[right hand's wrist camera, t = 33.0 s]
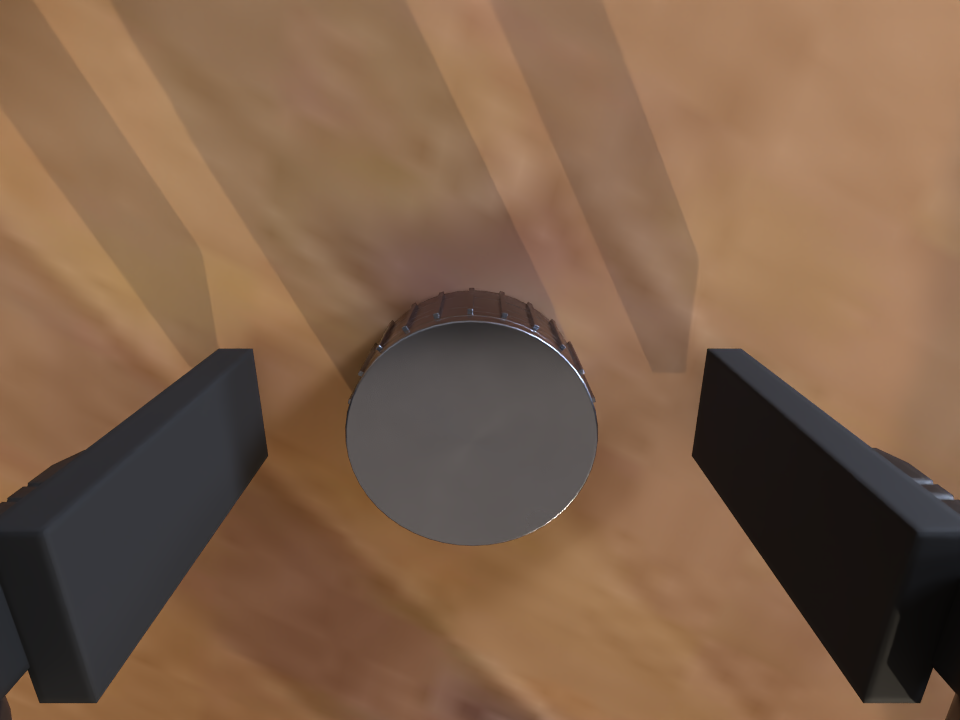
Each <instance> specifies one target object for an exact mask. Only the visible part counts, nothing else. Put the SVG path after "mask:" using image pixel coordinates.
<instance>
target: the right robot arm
mask: <svg viewBox="0 0 960 720" xmlns="http://www.w3.org/2000/svg"><path fill="white" fill-rule="evenodd" d="M267 457H268V452H267V445H266V438H265V431H264V424H263V417H262V410H261V403H260V396H259V389H258V382H257V375H256V369H255V362H254V355H253V349H218V350H217V351H215V352H214V353H213V354H211V355H210V356H209V357H207V358H206V359H205V360H203V361H202V362H201V363H199V364H198V365H197V366H196V367H194V368H193V369H192V370H190V371H189V372H188V373H186V374H185V375H184V376H182V377H181V378H180V379H178V380H177V381H176V382H174V383H173V384H172V385H171V386H169V387H168V388H167V389H165V390H164V391H163V392H161V393H160V394H159V395H157V396H156V397H155V398H153V399H152V400H151V401H149V402H148V403H147V404H146V405H144V406H143V407H142V408H140V409H139V410H138V411H136V412H135V413H134V414H132V415H131V416H130V417H128V418H127V419H126V420H124V421H123V422H122V423H120V424H119V425H118V426H117V427H115V428H114V429H113V430H111V431H110V432H109V433H107V434H106V435H105V436H103V437H102V438H101V439H99V440H98V441H97V442H95V443H94V444H93V445H92V446H90V447H89V448H88V449H86V450H84V451H81V452H79V453H77V454H75V455H73V456H71V457H69V458H67V459H64V460H62V461H60V462H58V463H56V464H54V465H52V466H50V467H49V468H48V469H46V470H45V471H44V472H42V473H41V474H40V475H38V476H37V477H36V478H34V479H33V480H31V481H30V482H29V483H28V486H27V487H22V488H21V489H19V490H18V491H16V492H15V493H14V494H12V495H11V496H10V497H8V498H7V499H8V500H7V502H2V503H0V720H12V717H11V710H10V706H9V704H8V701H7V699H6V696H5V695H6V694H7V693H8V692H9V691H10V689H11V688H12V687H13V686H14V685H15V684H16V683H17V681H18V680H19V679H20V678H21V677H22V676H23V675H24V673H25V672H26V671H27V670H28V672H29V675H30V678H31V680H32V683H33V686H34V689H35V691H36V694H37V697H38V700H39V702H40V703H97V702H98V700H99V699H100V697H101V696H102V695H103V693H104V692H105V690H106V689H107V687H108V686H109V684H110V683H111V682H112V680H113V679H114V677H115V676H116V674H117V673H118V671H119V670H120V669H121V667H122V666H123V664H124V663H125V661H126V660H127V659H128V657H129V656H130V654H131V653H132V651H133V650H134V648H135V647H136V646H137V644H138V643H139V641H140V640H141V638H142V637H143V635H144V634H145V633H146V631H147V630H148V628H149V627H150V625H151V624H152V622H153V621H154V620H155V618H156V617H157V615H158V614H159V612H160V611H161V610H162V608H163V607H164V605H165V604H166V602H167V601H168V599H169V598H170V597H171V595H172V594H173V592H174V591H175V589H176V588H177V586H178V585H179V584H180V582H181V581H182V579H183V578H184V576H185V575H186V573H187V572H188V571H189V569H190V568H191V566H192V565H193V563H194V562H195V560H196V559H197V558H198V556H199V555H200V553H201V552H202V550H203V549H204V548H205V546H206V545H207V543H208V542H209V540H210V539H211V537H212V536H213V535H214V533H215V532H216V530H217V529H218V527H219V526H220V524H221V523H222V522H223V520H224V519H225V517H226V516H227V514H228V513H229V511H230V510H231V509H232V507H233V506H234V504H235V503H236V501H237V500H238V499H239V497H240V496H241V494H242V493H243V491H244V490H245V488H246V487H247V486H248V484H249V483H250V481H251V480H252V478H253V477H254V475H255V474H256V473H257V471H258V470H259V468H260V467H261V465H262V464H263V462H264V461H265V460H266V458H267ZM692 457H693V458H694V460H695V461H696V462H697V464H698V465H699V467H700V468H701V470H702V471H703V473H704V474H705V475H706V477H707V478H708V480H709V481H710V483H711V484H712V486H713V487H714V488H715V490H716V491H717V493H718V494H719V496H720V497H721V498H722V500H723V501H724V503H725V504H726V506H727V507H728V509H729V510H730V511H731V513H732V514H733V516H734V517H735V519H736V520H737V522H738V523H739V524H740V526H741V527H742V529H743V530H744V532H745V533H746V535H747V536H748V537H749V539H750V540H751V542H752V543H753V545H754V546H755V548H756V549H757V550H758V552H759V553H760V555H761V556H762V558H763V559H764V560H765V562H766V563H767V565H768V566H769V568H770V569H771V571H772V572H773V573H774V575H775V576H776V578H777V579H778V581H779V582H780V584H781V585H782V586H783V588H784V589H785V591H786V592H787V594H788V595H789V597H790V598H791V599H792V601H793V602H794V604H795V605H796V607H797V608H798V609H799V611H800V612H801V614H802V615H803V617H804V618H805V620H806V621H807V622H808V624H809V625H810V627H811V628H812V630H813V631H814V633H815V634H816V635H817V637H818V638H819V640H820V641H821V643H822V644H823V646H824V647H825V648H826V650H827V651H828V653H829V654H830V656H831V657H832V659H833V660H834V661H835V663H836V664H837V666H838V667H839V669H840V670H841V671H842V673H843V674H844V676H845V677H846V679H847V680H848V682H849V683H850V684H851V686H852V687H853V689H854V690H855V692H856V693H857V695H858V696H859V697H860V699H861V700H862V702H863V703H920V702H921V700H922V697H923V694H924V691H925V689H926V686H927V683H928V680H929V678H930V675H931V672H932V669H933V668H934V669H935V670H936V671H937V672H938V673H939V675H940V676H941V677H942V678H943V679H944V680H945V681H946V683H947V684H948V685H949V686H950V687H951V688H952V689H953V691H954V692H955V696H954V699H953V701H952V704H951V706H950V709H949V712H948V714H947V717H946V719H945V720H960V500H954V498H953V495H952V494H950V493H949V492H947V491H946V490H945V489H943V488H942V487H941V486H939V485H938V484H933V481H932V480H931V479H930V478H928V477H927V476H925V475H924V474H923V473H921V472H920V471H919V470H917V469H916V468H915V467H913V466H912V465H910V464H909V463H907V462H905V461H903V460H901V459H899V458H896V457H894V456H892V455H890V454H888V453H886V452H884V451H881V450H879V449H877V448H871V447H870V446H868V445H867V444H866V443H865V442H863V441H862V440H861V439H859V438H858V437H857V436H855V435H854V434H853V433H851V432H850V431H849V430H847V429H846V428H845V427H843V426H842V425H841V424H840V423H838V422H837V421H836V420H834V419H833V418H832V417H830V416H829V415H828V414H826V413H825V412H824V411H822V410H821V409H820V408H818V407H817V406H816V405H815V404H813V403H812V402H811V401H809V400H808V399H807V398H805V397H804V396H803V395H801V394H800V393H799V392H797V391H796V390H795V389H793V388H792V387H791V386H789V385H788V384H787V383H786V382H784V381H783V380H782V379H780V378H779V377H778V376H776V375H775V374H774V373H772V372H771V371H770V370H768V369H767V368H766V367H764V366H763V365H762V364H761V363H759V362H758V361H757V360H755V359H754V358H753V357H751V356H750V355H749V354H747V353H746V352H745V351H743V350H742V349H707V355H706V362H705V369H704V376H703V382H702V389H701V396H700V403H699V410H698V417H697V424H696V431H695V438H694V445H693V452H692Z"/></svg>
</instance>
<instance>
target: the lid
mask: <svg viewBox="0 0 960 720" xmlns="http://www.w3.org/2000/svg"><path fill="white" fill-rule="evenodd" d="M584 373H585V372H584V370H583V368H582V365H581V363H580V361H579V359H578V357H577V355H576V352H575V350H574V348H573V346H572V344H571V342H570V341H569V342H568V343H567V342H566V341H565V339H564V338H563V336H562V335H561V333H560V332H559V330H558V328H557V325H556V323H555V321H554V320H553V319H552V320H550V321H549V320H548V319H547V318H546V317H545V316H543V315H542V314H541V313H540V312H538V311H537V310H535V309H534V308H533V305H532V304H531V303H529V302H528V303H527V304H525V303H523V302H521V301H519V300H517V299H515V298H512V297H509V296H506V295H505V293H504V292H501V291H500V292H499V294H498V293H493V292H488V291H474V288H469V291H458V292H453V293H448V294H444V292H440V293H439V296H437V297H434V298H431V299H428V300H426V301H424V302H422V303H420V304H418V305H417V304H416V303H414V304H413V305H412V306H411V308H410V310H409V311H408V312H406V313H405V314H403V315H402V316H401V317H400V318H399V319H398V320H397V321H396V322H394V321H393V320H392V321H391V322H390V323H389V325H388V327H387V329H386V331H385V333H384V334H383V336H382V338H381V340H380V342H379V344H377V343H375V344H374V346H373V348H372V349H371V351H370V353H369V355H368V357H367V358H366V360H365V362H364V364H363V366H362V367H361V369H360V371H359V373H358V375H359V376H361V378H360V379H359V381H358V383H357V385H356V387H355V389H354V391H353V392H352V394H351V396H350V398H349V401H348V404H349V407H348V411H347V418H346V426H345V431H346V446H347V452H348V457H349V460H350V463H351V466H352V469H353V472H354V474H355V476H356V478H357V480H358V482H359V484H360V485H361V487H362V488H363V490H364V491H365V493H366V494H367V496H368V497H369V498H370V499H371V501H372V502H373V503H374V504H375V505H376V506H377V508H379V509H380V510H381V511H382V512H383V513H384V514H385V515H386V516H388V517H389V518H390V519H392V520H393V521H394V522H396V523H397V524H399V525H400V526H402V527H404V528H406V529H408V530H409V531H411V532H413V533H415V534H418V535H420V536H423V537H425V538H428V539H431V540H435V541H439V542H442V543H448V544H455V545H467V546H478V545H491V544H497V543H503V542H506V541H510V540H513V539H517V538H520V537H522V536H525V535H527V534H529V533H532V532H534V531H535V530H537V529H539V528H541V527H543V526H544V525H546V524H547V523H549V522H550V521H552V520H553V519H554V518H556V517H557V516H558V515H559V514H560V513H561V512H563V511H564V510H565V509H566V508H567V507H568V506H569V505H570V503H571V502H572V501H573V500H574V499H575V497H576V496H577V495H578V493H579V492H580V490H581V489H582V487H583V485H584V484H585V482H586V480H587V478H588V476H589V473H590V471H591V469H592V466H593V462H594V459H595V456H596V449H597V442H598V424H597V417H596V411H595V407H594V404H593V402H595V397H594V395H593V393H592V391H591V389H590V386H589V384H588V382H587V380H586V378H585V376H584Z"/></svg>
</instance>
